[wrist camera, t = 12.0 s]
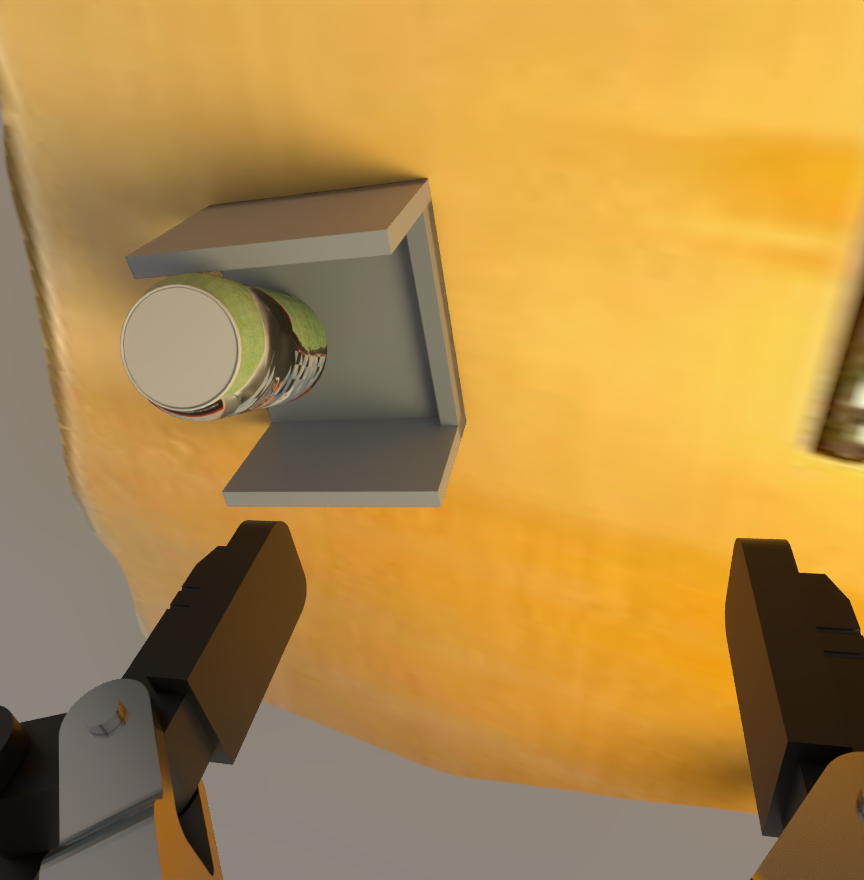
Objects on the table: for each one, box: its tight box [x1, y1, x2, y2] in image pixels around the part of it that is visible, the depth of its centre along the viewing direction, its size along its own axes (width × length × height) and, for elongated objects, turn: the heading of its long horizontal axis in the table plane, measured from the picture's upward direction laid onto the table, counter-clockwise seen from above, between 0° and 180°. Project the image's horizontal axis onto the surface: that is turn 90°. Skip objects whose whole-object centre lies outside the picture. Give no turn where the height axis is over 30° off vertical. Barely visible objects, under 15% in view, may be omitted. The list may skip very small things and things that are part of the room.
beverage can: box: [120, 273, 327, 422], centre depth 32 cm, size 6×7×12 cm
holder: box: [126, 179, 466, 507], centre depth 35 cm, size 14×12×8 cm
